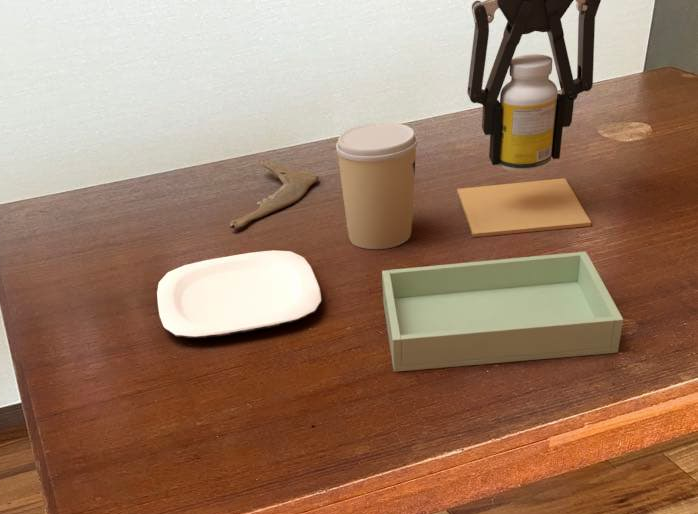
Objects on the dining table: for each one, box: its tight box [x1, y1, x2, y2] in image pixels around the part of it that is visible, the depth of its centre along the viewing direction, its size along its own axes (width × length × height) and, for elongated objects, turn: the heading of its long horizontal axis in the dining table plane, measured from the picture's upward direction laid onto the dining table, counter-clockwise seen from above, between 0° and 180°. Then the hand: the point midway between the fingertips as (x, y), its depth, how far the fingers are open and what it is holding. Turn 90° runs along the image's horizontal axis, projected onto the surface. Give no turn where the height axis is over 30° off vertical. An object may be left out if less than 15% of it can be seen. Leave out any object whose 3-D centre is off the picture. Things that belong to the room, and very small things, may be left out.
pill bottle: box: [498, 53, 559, 174], centre depth 104 cm, size 6×6×12 cm
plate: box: [156, 249, 322, 339], centre depth 100 cm, size 18×18×2 cm
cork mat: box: [457, 177, 592, 238], centre depth 111 cm, size 14×14×1 cm
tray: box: [381, 251, 624, 373], centre depth 90 cm, size 22×15×4 cm
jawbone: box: [229, 159, 319, 230], centre depth 120 cm, size 9×20×2 cm, turn 169°
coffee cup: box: [335, 122, 418, 250], centre depth 106 cm, size 9×9×12 cm
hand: (524, 157), depth 107 cm, fingers closed on pill bottle, 6 cm apart
